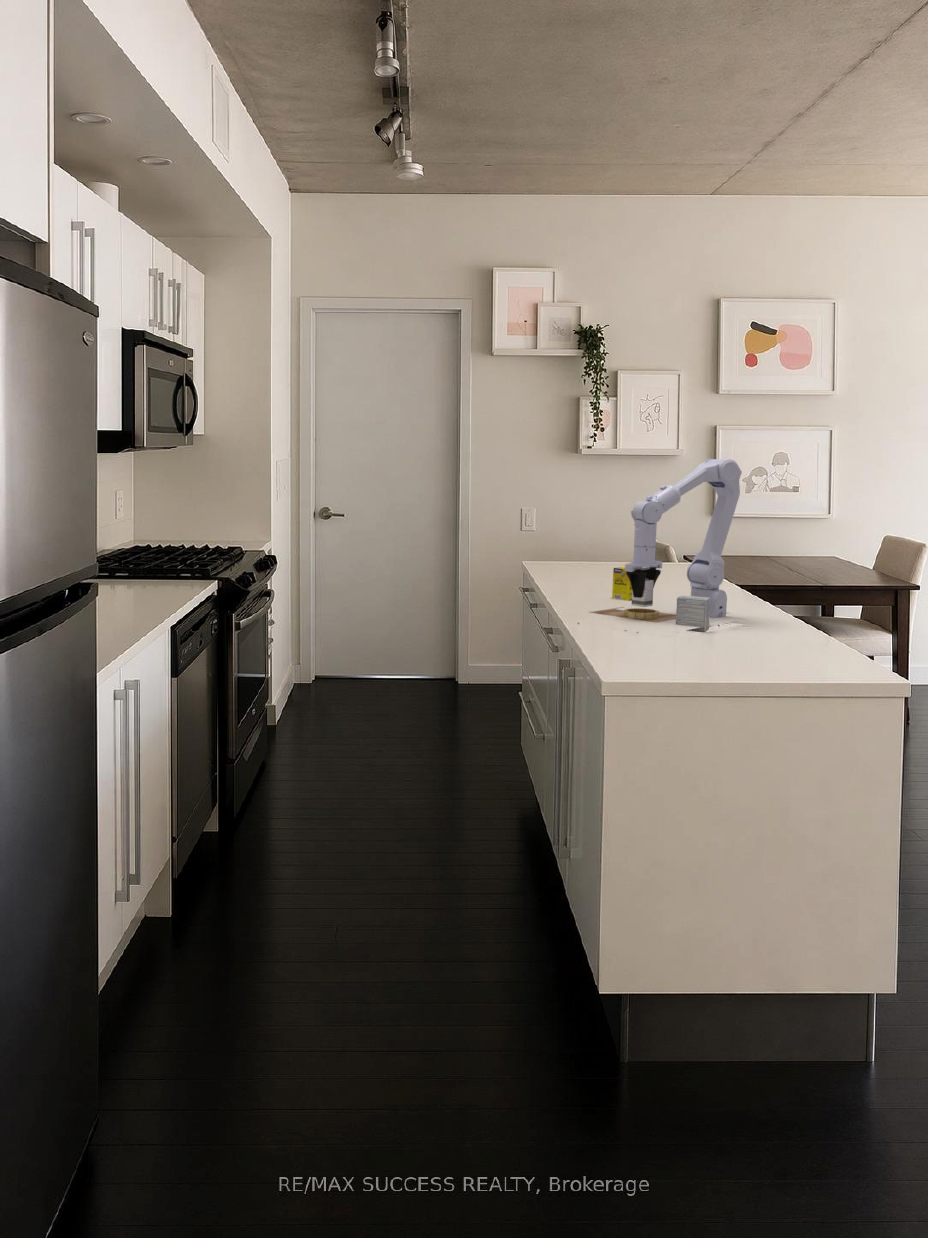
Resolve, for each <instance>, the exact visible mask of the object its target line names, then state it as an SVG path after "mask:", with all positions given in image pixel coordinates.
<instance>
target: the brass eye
mask: <svg viewBox="0 0 928 1238" xmlns="http://www.w3.org/2000/svg"><path fill="white" fill-rule="evenodd" d="M659 612H660V610H657V609H653V608H652V609H651V608H644V607H641V608H640V607H634V608H631V609H625V610H624V617H627V618H626V619H629V618H632V619H631V620H636V619H658V618H659Z"/></svg>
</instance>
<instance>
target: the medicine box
mask: <svg viewBox="0 0 928 1238" xmlns="http://www.w3.org/2000/svg"><path fill="white" fill-rule="evenodd" d="M675 608H676V610H675V611H676V613H675V615H676V619H675V625H679V626H680V625H681V626H690V627H696V628H692V629H686V630H685V631H687V632H700V633H701V632H702V633H706V632H708V630H709V629H710V626H709V625H710V617H709V614H710V598H707V597H696V596H691V595H680V596H678V597H676V607H675Z"/></svg>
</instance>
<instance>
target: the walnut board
mask: <svg viewBox="0 0 928 1238" xmlns="http://www.w3.org/2000/svg"><path fill="white" fill-rule="evenodd" d="M618 608H625V606H621V607H614V608H608V609H601V610H594V611H589V613H591V614H597V615H603V616H604V615H605V616H611V617H616V618H617V617H618V618H622V619H623V618H624V619H630V620H633V619H632V618H627V617H624V612H622V611H615V610H614V609H618ZM635 620H637V621H642V622H643V621H645V622H648V623H649V622H650V623H660V622H666V621H671V620H676V613H675V614H674V613H667V612H660V611H659V618H658V619H635Z"/></svg>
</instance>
